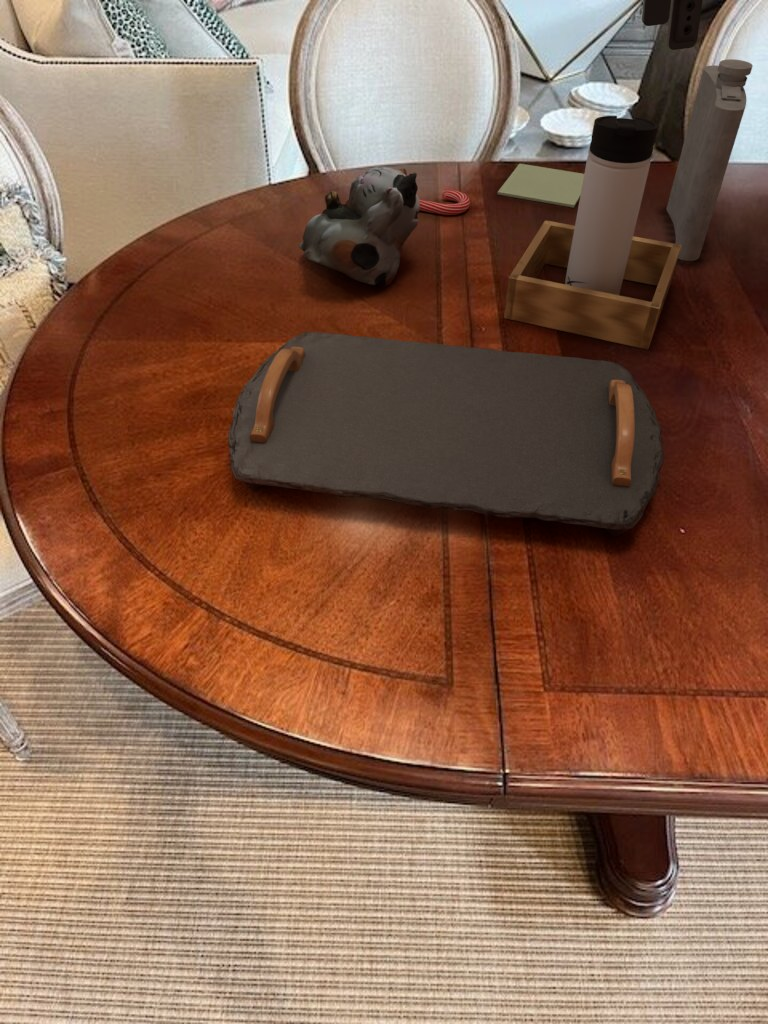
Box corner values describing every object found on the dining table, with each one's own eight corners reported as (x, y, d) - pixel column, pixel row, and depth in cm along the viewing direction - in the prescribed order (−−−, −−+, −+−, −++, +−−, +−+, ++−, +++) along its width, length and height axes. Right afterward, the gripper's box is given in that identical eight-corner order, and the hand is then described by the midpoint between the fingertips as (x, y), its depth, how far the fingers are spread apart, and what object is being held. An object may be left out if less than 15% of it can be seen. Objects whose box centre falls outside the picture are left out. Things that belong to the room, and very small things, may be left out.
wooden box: (670, 284, 93) (681, 244, 89) (648, 350, 83) (659, 308, 80) (539, 258, 97) (545, 220, 94) (503, 318, 88) (508, 277, 84)
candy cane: (376, 186, 113) (376, 175, 112) (475, 202, 109) (476, 191, 108) (359, 202, 109) (359, 192, 108) (461, 219, 105) (462, 208, 104)
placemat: (591, 177, 115) (592, 175, 114) (573, 207, 107) (574, 205, 107) (519, 165, 118) (519, 163, 117) (497, 194, 111) (497, 191, 110)
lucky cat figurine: (299, 242, 100) (340, 131, 94) (385, 280, 103) (431, 175, 97) (291, 265, 87) (338, 138, 81) (390, 308, 90) (442, 188, 84)
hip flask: (665, 205, 108) (708, 41, 94) (696, 207, 108) (743, 43, 93) (673, 259, 97) (723, 83, 83) (707, 262, 97) (763, 86, 82)
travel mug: (559, 312, 88) (593, 125, 74) (564, 283, 93) (596, 102, 79) (616, 319, 87) (661, 131, 73) (618, 289, 92) (660, 107, 78)
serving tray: (648, 388, 78) (664, 334, 74) (664, 559, 62) (685, 504, 58) (275, 349, 83) (269, 297, 79) (201, 499, 67) (188, 444, 63)
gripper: (790, -238, 49) (740, 51, 60) (721, -234, 60) (689, 11, 71) (668, -219, 50) (641, 63, 61) (621, -219, 60) (605, 22, 71)
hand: (667, 35), depth 66 cm, fingers open, 8 cm apart
